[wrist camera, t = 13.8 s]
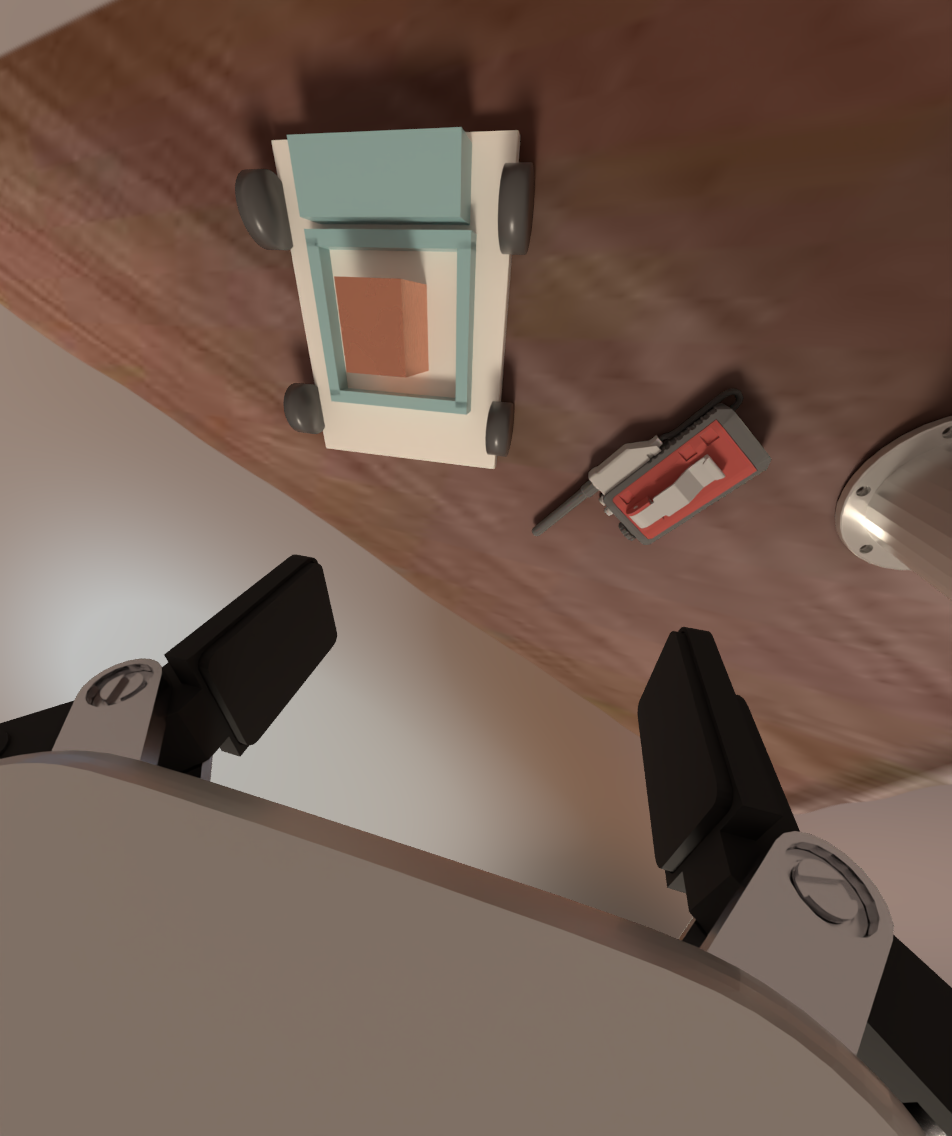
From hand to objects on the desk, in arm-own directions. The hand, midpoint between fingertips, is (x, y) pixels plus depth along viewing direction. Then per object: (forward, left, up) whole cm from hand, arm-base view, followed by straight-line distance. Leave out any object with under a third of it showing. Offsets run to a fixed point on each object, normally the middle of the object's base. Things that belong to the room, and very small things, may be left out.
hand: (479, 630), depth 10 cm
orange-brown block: (+14, -6, -27) cm, 31 cm away
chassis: (+14, -6, -28) cm, 32 cm away
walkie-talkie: (-8, +6, -29) cm, 31 cm away
